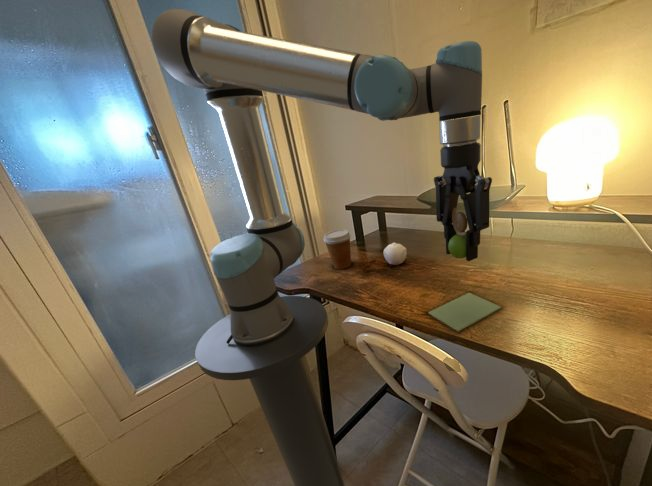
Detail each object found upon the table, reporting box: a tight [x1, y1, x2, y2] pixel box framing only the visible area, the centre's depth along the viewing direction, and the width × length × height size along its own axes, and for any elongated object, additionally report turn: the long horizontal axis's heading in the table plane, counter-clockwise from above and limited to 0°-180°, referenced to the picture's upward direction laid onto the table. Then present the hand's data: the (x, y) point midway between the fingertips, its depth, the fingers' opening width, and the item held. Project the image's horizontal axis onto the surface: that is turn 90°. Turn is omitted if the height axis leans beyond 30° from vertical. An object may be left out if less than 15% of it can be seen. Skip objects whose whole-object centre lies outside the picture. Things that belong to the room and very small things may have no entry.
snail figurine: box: [448, 208, 468, 259], centre depth 66 cm, size 5×6×12 cm
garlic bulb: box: [382, 242, 408, 266], centre depth 102 cm, size 8×8×8 cm
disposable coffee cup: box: [323, 229, 352, 270], centre depth 106 cm, size 10×10×12 cm
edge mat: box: [427, 292, 502, 333], centre depth 73 cm, size 14×10×1 cm
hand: (461, 255), depth 68 cm, fingers closed on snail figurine, 5 cm apart
